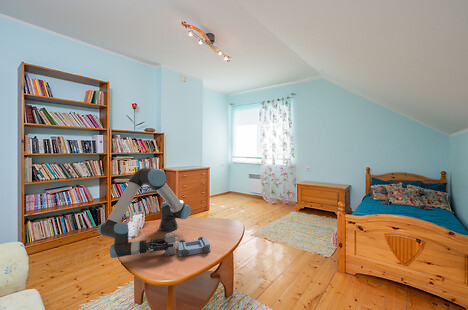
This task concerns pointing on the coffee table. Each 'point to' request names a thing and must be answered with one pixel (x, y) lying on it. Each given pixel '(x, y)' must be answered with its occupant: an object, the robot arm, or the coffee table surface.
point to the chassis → (193, 247)
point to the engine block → (169, 239)
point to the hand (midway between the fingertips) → (178, 241)
